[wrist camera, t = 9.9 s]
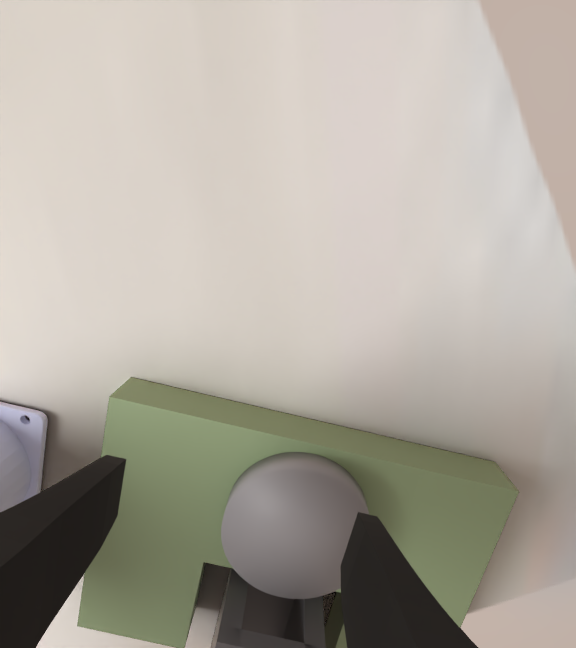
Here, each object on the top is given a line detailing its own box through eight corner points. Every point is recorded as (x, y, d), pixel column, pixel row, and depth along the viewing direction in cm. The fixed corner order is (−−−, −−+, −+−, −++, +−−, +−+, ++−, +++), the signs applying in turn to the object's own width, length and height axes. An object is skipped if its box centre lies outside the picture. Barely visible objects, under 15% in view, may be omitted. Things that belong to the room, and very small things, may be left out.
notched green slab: (99, 586, 25) (61, 653, 21) (131, 377, 21) (93, 410, 18) (415, 656, 25) (436, 735, 21) (494, 462, 22) (536, 513, 18)
